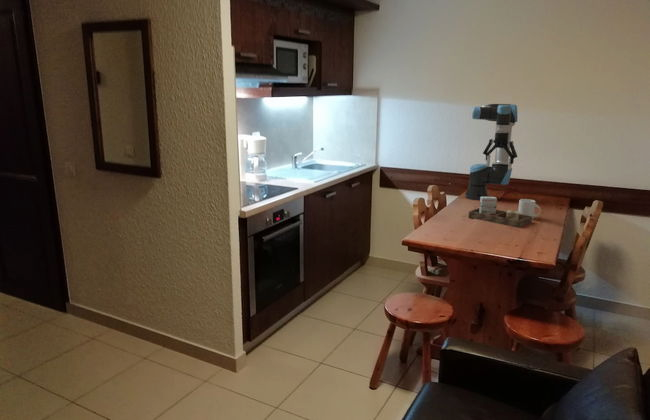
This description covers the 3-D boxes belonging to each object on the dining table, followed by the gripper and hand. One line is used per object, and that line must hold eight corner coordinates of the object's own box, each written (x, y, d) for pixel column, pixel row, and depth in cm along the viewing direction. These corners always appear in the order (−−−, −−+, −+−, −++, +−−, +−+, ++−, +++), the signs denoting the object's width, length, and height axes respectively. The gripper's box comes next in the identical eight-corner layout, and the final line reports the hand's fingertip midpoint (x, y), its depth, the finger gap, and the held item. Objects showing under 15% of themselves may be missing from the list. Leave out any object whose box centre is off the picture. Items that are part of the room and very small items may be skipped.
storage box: (468, 217, 279) (469, 211, 278) (481, 213, 290) (482, 206, 289) (519, 228, 259) (520, 221, 258) (531, 223, 270) (532, 216, 269)
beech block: (505, 222, 268) (506, 212, 267) (507, 220, 273) (508, 209, 272) (516, 224, 265) (517, 213, 264) (518, 221, 270) (519, 211, 269)
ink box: (493, 216, 281) (495, 196, 279) (495, 218, 277) (497, 198, 274) (478, 215, 282) (480, 196, 279) (480, 217, 278) (482, 197, 275)
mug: (537, 222, 272) (539, 203, 269) (515, 218, 279) (517, 200, 276) (541, 219, 279) (543, 201, 276) (519, 215, 285) (521, 198, 283)
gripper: (479, 130, 287) (476, 165, 292) (520, 134, 269) (516, 171, 275) (485, 129, 292) (482, 164, 297) (525, 133, 275) (521, 169, 280)
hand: (498, 167), depth 286 cm, fingers open, 13 cm apart
